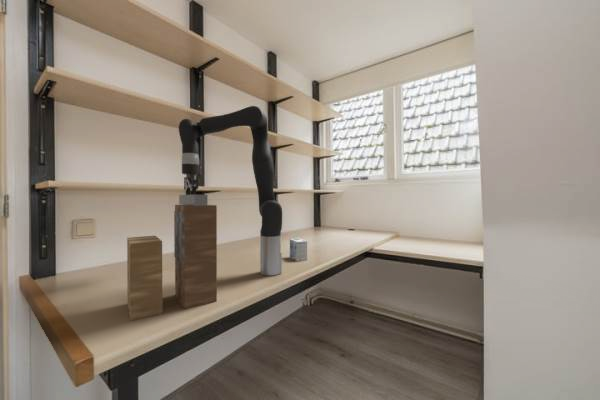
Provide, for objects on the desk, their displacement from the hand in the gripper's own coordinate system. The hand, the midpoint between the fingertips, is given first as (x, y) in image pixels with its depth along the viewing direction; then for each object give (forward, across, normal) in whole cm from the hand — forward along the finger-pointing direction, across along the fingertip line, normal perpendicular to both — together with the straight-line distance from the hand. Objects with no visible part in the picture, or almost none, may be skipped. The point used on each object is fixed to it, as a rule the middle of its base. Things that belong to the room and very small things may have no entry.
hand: (191, 198), depth 120 cm
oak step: (+34, +32, -23) cm, 52 cm away
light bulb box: (+35, +10, +55) cm, 66 cm away
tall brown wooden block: (+34, +34, -8) cm, 49 cm away
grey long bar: (+2, +30, -8) cm, 31 cm away
